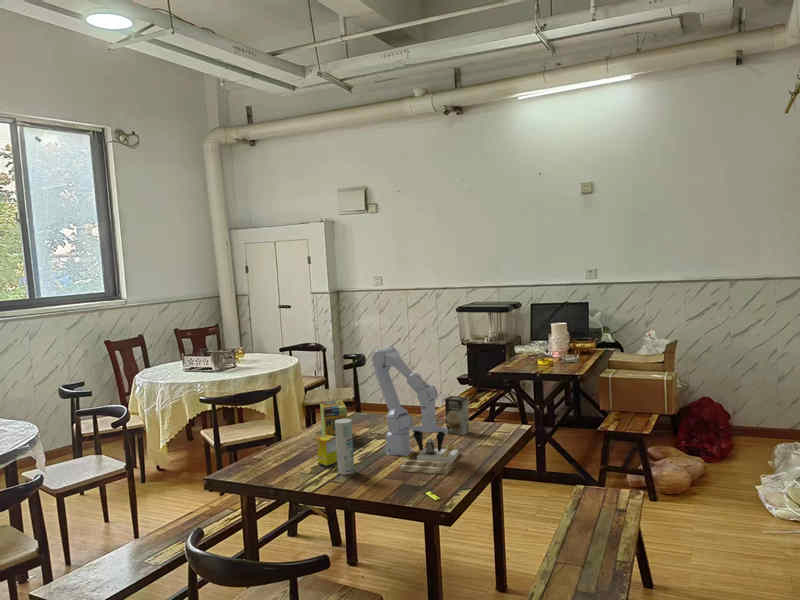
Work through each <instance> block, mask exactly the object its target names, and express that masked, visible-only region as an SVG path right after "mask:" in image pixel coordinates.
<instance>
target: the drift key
mask: <svg viewBox="0 0 800 600" xmlns="http://www.w3.org/2000/svg"><path fill="white" fill-rule="evenodd" d="M445 449H447V451H446V452H445V454H444V455H443V456H442V457H447V456H448V455H449V454H450V452H451V451H452V450H456V444H455V443H446V444H445Z"/></svg>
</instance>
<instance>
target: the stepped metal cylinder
mask: <svg viewBox="0 0 800 600" xmlns="http://www.w3.org/2000/svg"><path fill="white" fill-rule="evenodd" d="M425 448H426V453H427V455H435V453H434V449H435V442H433V438H427V440H426V442H425Z"/></svg>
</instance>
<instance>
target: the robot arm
mask: <svg viewBox="0 0 800 600" xmlns="http://www.w3.org/2000/svg"><path fill="white" fill-rule="evenodd" d="M400 355H401V354H400V352H399V351H398V350H397V349H396V348H395V347H394V346H389V347H386V348H382V349H376V350H375V351H374V352H373V354H372V356H371V362H372V364H373V367H374V368H373V369H374V370H373V371H374V374H375V377H376V379H377V383H378V385H379V387H380V388H379V389H380V390H381V393H382V396H383V399H384V401H385V404H386V406H387V410H388V414H387V416H386V421H387V428H388V430H389V431H388V432H387V433H386V437H385V442H386V445H385V446H386V455H388V456H389V455H391V456H406V457H407V456H409V455H410V454H411V453H412V452H413V451H414V448H411V437H410V436H411V435H410V431H411V433H413V434H412V435H413V437H414V439H415V441H416V443H417V446H418V448H419V449H418V450H419V451H421V452H422V451H423V450H424V449H423V448H424V444H423V433H427V434H428V433H429V434H430V433H431V434H436V441H437V449H438V452H440V451H441V449H442V447H443V442H444V439H445V436H446V435H447V434H449V433H448V429H447V428H446V427H443V426H438V425H437V414H436V413H437V412H436V399H437V398H438V394H439V393H438V390H437V388H436V387H435V386H434V385H431V384H429V383H427V382H426V381H425V379H423V377H422V375H421V374H419V373H418V372H413V371H412V370H411V368H410V367H409V366H408V365H407V363H406V362H405V361H404V360H403V359H402V357H401V356H400ZM391 367H393V368H394V369H396V370H397V371H398V372H399V373H400V374H401V375H403V377H405V378H406V383H407V385H408V386H409V388H411V389H412V390H413V391H414V392H415V393H416V394H417V395H416V397H417V400H418V401H419V405H420V412H421V414H420V415H421V425H418V426H417V425H414V426H413V418H412V416H411V415H410V414H409V412H408V410H407V409H406V408H404V407H402V403H401V402H400V399H399V397H398V394H397V391H396V388H395V386H394V383H393V380H392V377H391V375H390V370H391Z"/></svg>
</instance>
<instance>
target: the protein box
mask: <svg viewBox="0 0 800 600" xmlns="http://www.w3.org/2000/svg"><path fill="white" fill-rule="evenodd" d="M319 407H320V424H321V425H320V426H321V434H322V435H321V436H326V435H331V436H335V437H336V434H335V421H336V420H338V419H348V412H347V410H348V409H347V406H346V405H345V403H344V402H343V400H341V399H339V400H331V401H327V400H326V401H321V402H320V403H319Z"/></svg>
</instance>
